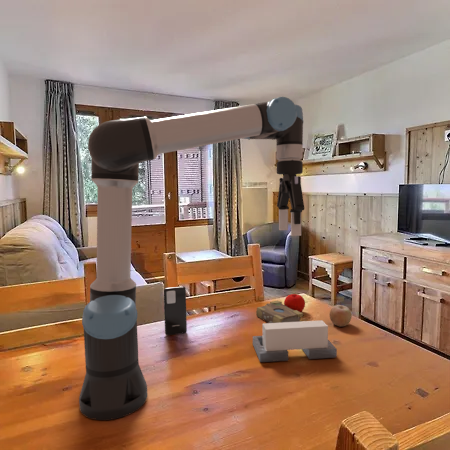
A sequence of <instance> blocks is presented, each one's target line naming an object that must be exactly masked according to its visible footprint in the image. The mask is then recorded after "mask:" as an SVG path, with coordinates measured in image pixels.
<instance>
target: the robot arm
mask: <svg viewBox="0 0 450 450" xmlns="http://www.w3.org/2000/svg"><path fill="white" fill-rule="evenodd" d="M303 115H304V114H303V108H302V106H301V105H298V104H295V103H294V101H293V100H292V99H290V98H288V97H286V96H278V97H275V98H273V99H271V100H270V101H265V102H260V103H259V102H258V103H250V104H246V105H240V106H234V107H226V108H220V109H215V110H209V111H208V110H207V111H202V112H195V113H189V114H184V115H183V114H182V115H177V116H176V115H175V116H170V117H163V118H158V119H150V118H148V117H147V116H141V117H130V118H122V119H113V120H109V121H104V122H102V123H100V124H99V125H98V124H97V126H96V127H95V128H94V129H93V130H92V131H91V133H90V134H89V138H88V143H87V145H88V147H87V149H88V153H89V155H90V157H91V171H90V173H91V175H90V177H91V178H90V180H91V182H93V183H94V185H96V187H97V205H96V206H97V210H96V211H97V212H96V213H97V215H96V219H97V220H96V279H95V280H94V281H92V282H91V284H89V285H90V286H89V302H88V303H87V304H86V305H85V307H84V309H83V310H82V316H81V317H82V318H81V324H82V327H83V340H84V341H83V343H84V359H85V360H84V361H85V363H84V364H85V375H84V379H83V382H82V386H81V390H80V393H79V401H78V402H79V410H80V413H81V414H82V415H83V416H85V418H86V417H87V418H89V419H90V420H91V419H92V420H95V421H97V420H99V421H109V420H116V419H120V418H123V417H126V416H127V415H131V414H132V413H134V412H135V411H137V410H139V409H141V407H142V406H143V405H144V404H145V403H146V401H147V399H148V385H147V381H146V379H145V376H144V375H143V372H142V369H141V366H140V364H139V341H138V340H139V338H138V310H137V304H136V303H137V283H136V282H135V280H134V279H132V277H131V273H132V271H131V269H132V268H131V266H132V264H131V263H132V262H131V261H132V227H133V226H132V223H133V221H132V220H133V219H132V218H133V213H132V212H133V189H134V187H135V186H136V185H137V184H138V183H139V176H140V173H139V169H140V164H141V163H144V162H148V161H154V160H156V158H157V157H158V156H159V155H161V154H162V155H163V154H167V153H171V152H176V151H177V152H178V151H182V150H188V149H193V148H198V147H204V146H208V145H214V144H218V143H219V144H220V143H225V142H230V141H236V140H240V139H244V140H248V141H249V140H273V141H274V140H275V141H276V145H275V146H276V147H275V148H276V153H275V155H276V157H275V158H276V160H277V162H276V174H277V175H281V176H282V177H280V178H279V180H278V181H279V183H278V185H279V186H278V187H279V188H278V195H277V203H276V207H277V208H278V230H279V231H289V212H290V236H291V237H297V236H298V237H299V236H300V237H301V236H302V212H303V211H304V210H305V203H304V195H303V190H302V178H301V176H297V175H301V174H303V164H304V163H303V161H302V159H303V153H304V152H305V149H304V148H303V145H304V144H303V143H304V142H303V141H304V139H303V138H304V136H303V134H304V116H303ZM289 204H290V206H291V208H290V207H289ZM289 208H290V210H289Z"/></svg>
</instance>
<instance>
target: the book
mask: <svg viewBox="0 0 450 450" xmlns="http://www.w3.org/2000/svg"><path fill="white" fill-rule="evenodd" d="M255 313H256V317H257V318H259V319H261V320H263V321H264V320H265V322H266V323H282V322H301V317H304V313H303V312H299V311H297V310H292V309H290V308H288V307H287V306H285V305H284V303H282V301H280V300H278V299H277V300H273V301H269V303H268V302H267V303H266V304H265V305H263V306H257V307H256V311H255Z"/></svg>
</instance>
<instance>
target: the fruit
mask: <svg viewBox="0 0 450 450" xmlns="http://www.w3.org/2000/svg"><path fill="white" fill-rule="evenodd" d="M352 315H353V314H352V311H351V309H350V308H349V307H348V306H346V305H342V302H339V304H337V305H333V306H332V307H331V308H330V310H329V319H330V322H331V323H332V324H333V325H335V326H337V327H340V328H341V327H346V326H347V325H349V324H350V323H351V320H352Z"/></svg>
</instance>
